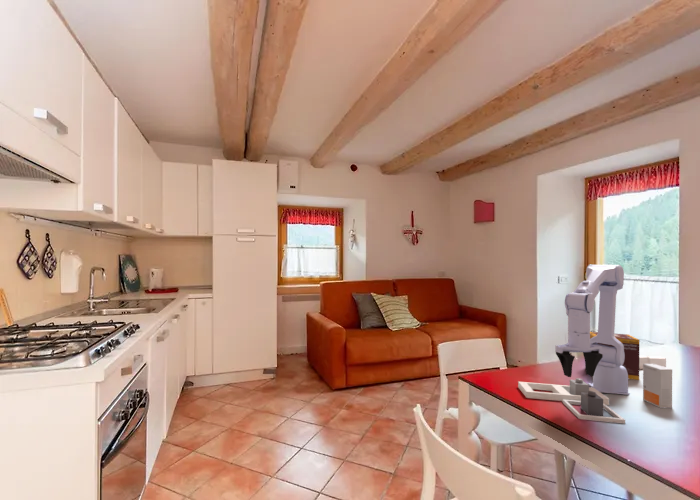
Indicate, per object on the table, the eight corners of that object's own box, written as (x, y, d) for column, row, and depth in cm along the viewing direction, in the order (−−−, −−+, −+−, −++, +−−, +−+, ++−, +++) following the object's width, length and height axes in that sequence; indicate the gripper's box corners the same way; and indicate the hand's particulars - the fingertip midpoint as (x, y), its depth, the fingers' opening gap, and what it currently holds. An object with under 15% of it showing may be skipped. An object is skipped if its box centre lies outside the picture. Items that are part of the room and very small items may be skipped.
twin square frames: (593, 393, 118) (593, 387, 118) (608, 405, 109) (608, 398, 109) (518, 387, 123) (518, 381, 123) (526, 397, 113) (526, 391, 114)
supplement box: (640, 380, 133) (640, 339, 133) (592, 375, 138) (593, 335, 139) (629, 372, 143) (629, 334, 143) (585, 367, 148) (585, 330, 148)
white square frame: (603, 406, 108) (603, 403, 108) (625, 423, 97) (625, 419, 97) (562, 402, 110) (562, 399, 110) (579, 418, 99) (579, 415, 99)
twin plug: (582, 395, 117) (582, 377, 117) (589, 400, 112) (589, 382, 112) (569, 394, 117) (569, 376, 118) (575, 399, 113) (575, 380, 113)
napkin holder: (668, 369, 149) (668, 356, 149) (673, 376, 140) (673, 362, 140) (624, 362, 158) (624, 350, 158) (625, 368, 149) (625, 355, 149)
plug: (595, 410, 105) (595, 390, 105) (603, 416, 101) (603, 395, 101) (580, 408, 106) (581, 389, 106) (587, 415, 102) (587, 394, 102)
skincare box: (642, 400, 113) (642, 363, 114) (654, 400, 114) (654, 363, 114) (660, 408, 107) (660, 369, 108) (673, 408, 108) (673, 369, 108)
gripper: (589, 328, 113) (589, 371, 112) (548, 329, 111) (548, 372, 110) (608, 333, 106) (608, 378, 105) (565, 333, 104) (564, 379, 103)
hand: (578, 375), depth 107 cm, fingers open, 7 cm apart
